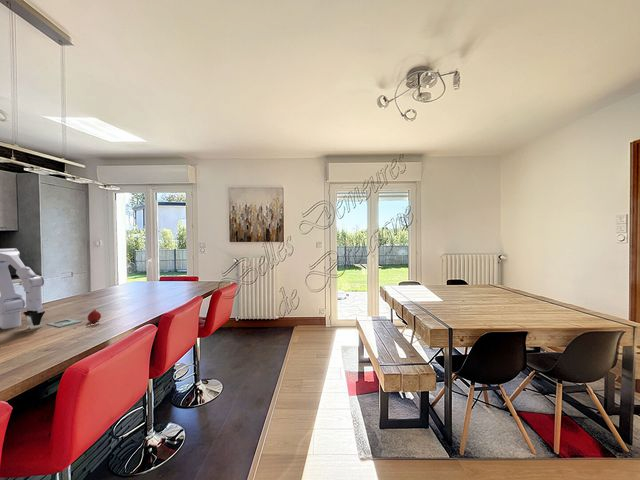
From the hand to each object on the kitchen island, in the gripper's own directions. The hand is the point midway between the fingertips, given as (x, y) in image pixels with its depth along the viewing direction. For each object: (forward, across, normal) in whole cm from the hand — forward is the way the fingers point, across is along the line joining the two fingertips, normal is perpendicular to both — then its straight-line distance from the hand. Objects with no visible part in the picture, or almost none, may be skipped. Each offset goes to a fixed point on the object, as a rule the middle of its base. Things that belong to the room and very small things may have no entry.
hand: (34, 324), depth 144 cm
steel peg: (+2, 0, 0) cm, 2 cm away
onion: (+3, +18, +18) cm, 26 cm away
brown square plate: (+3, 0, 0) cm, 3 cm away
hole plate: (+3, +5, +10) cm, 12 cm away
